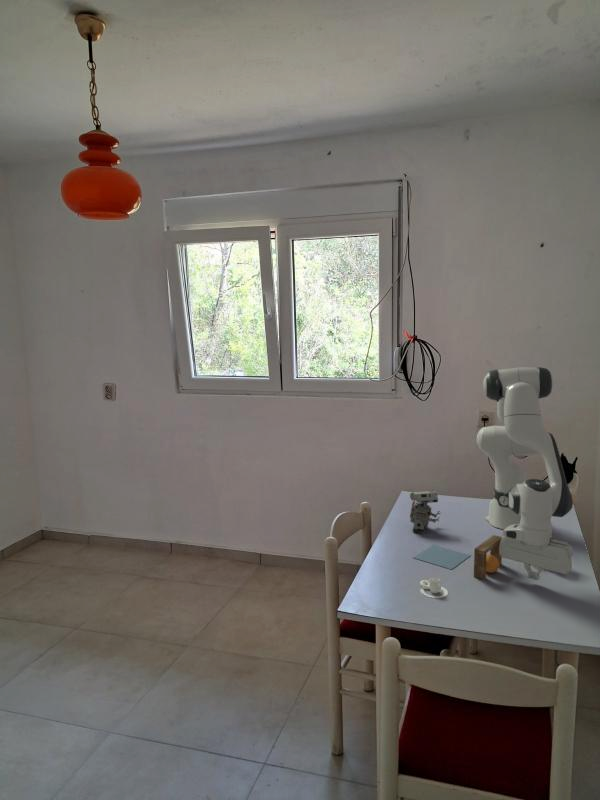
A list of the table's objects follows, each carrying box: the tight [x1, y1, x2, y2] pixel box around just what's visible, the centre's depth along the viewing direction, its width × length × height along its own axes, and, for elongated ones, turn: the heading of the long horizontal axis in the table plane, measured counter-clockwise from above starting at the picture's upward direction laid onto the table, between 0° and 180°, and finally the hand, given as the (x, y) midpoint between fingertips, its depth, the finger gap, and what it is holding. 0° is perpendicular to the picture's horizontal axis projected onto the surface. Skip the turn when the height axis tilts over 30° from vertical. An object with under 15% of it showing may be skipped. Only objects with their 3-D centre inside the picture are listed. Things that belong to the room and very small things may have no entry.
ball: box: [486, 554, 500, 574], centre depth 170 cm, size 6×6×6 cm
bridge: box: [473, 534, 503, 581], centre depth 171 cm, size 3×14×9 cm, turn 138°
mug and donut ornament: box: [419, 577, 449, 599], centre depth 159 cm, size 9×8×4 cm
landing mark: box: [413, 544, 471, 571], centre depth 182 cm, size 14×14×1 cm
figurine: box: [409, 490, 441, 534], centre depth 207 cm, size 9×12×15 cm
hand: (533, 578), depth 162 cm, fingers closed
